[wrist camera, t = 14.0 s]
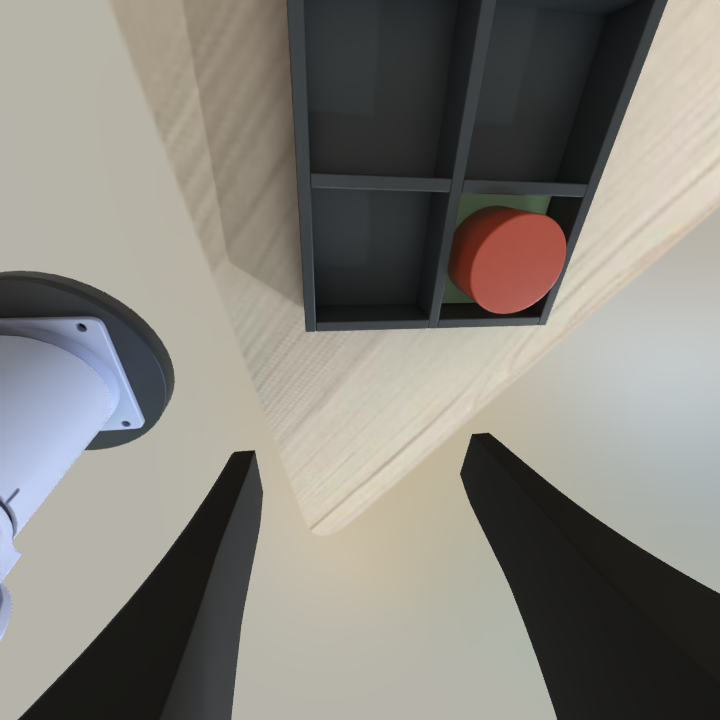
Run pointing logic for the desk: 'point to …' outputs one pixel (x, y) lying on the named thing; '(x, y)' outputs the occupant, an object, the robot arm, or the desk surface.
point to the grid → (447, 140)
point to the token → (506, 257)
